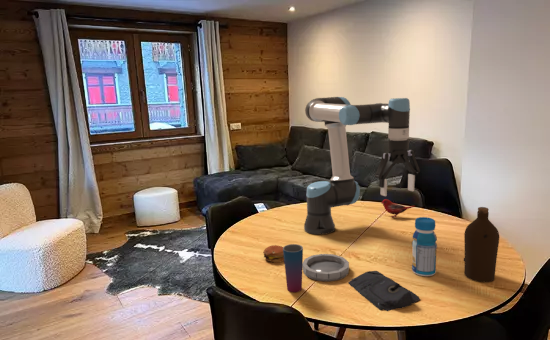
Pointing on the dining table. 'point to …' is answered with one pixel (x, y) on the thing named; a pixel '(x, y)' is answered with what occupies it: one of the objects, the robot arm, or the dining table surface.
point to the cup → (293, 266)
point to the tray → (325, 267)
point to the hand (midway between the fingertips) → (397, 193)
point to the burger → (274, 253)
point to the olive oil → (481, 248)
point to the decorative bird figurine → (394, 207)
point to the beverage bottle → (424, 247)
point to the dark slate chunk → (383, 291)
